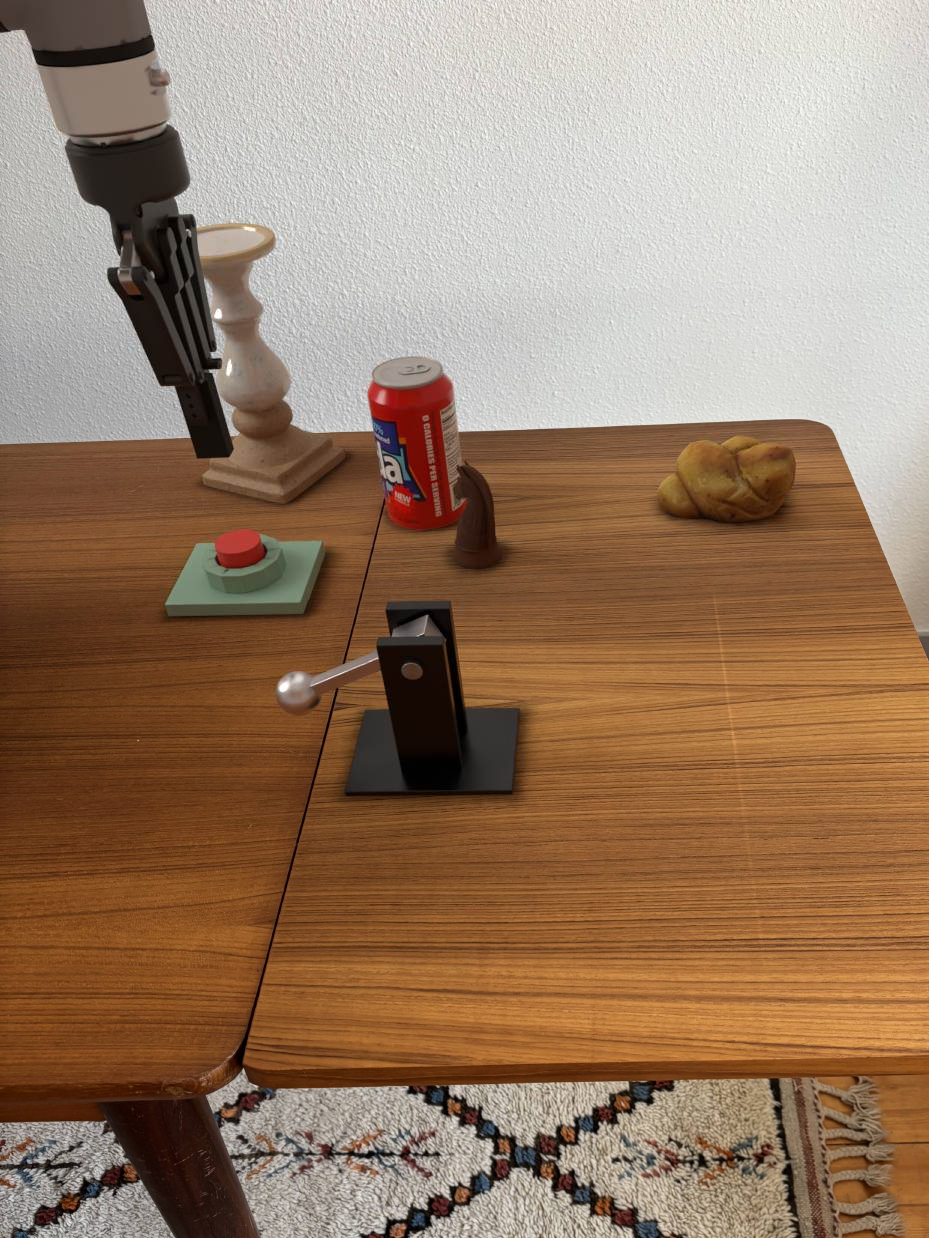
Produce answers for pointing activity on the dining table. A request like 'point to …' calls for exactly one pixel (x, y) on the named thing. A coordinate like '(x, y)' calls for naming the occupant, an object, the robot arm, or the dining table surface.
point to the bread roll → (729, 480)
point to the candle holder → (255, 378)
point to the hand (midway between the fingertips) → (215, 453)
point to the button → (239, 549)
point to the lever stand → (430, 720)
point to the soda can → (416, 441)
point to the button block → (248, 581)
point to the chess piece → (475, 521)
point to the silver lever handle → (339, 673)
